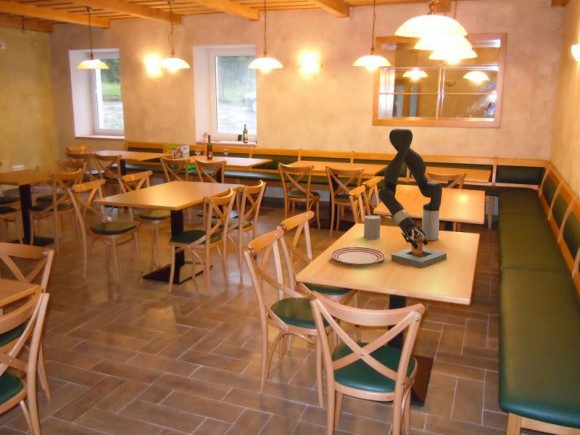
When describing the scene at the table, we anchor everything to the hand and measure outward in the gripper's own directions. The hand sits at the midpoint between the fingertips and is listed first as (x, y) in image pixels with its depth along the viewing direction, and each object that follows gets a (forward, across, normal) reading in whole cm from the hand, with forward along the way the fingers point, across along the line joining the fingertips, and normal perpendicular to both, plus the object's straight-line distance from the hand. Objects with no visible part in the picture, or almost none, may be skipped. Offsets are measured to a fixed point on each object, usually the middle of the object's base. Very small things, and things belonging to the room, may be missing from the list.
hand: (421, 246), depth 263 cm
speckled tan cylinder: (-27, +17, +37) cm, 49 cm away
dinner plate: (-10, -23, +21) cm, 33 cm away
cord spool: (+3, 0, +7) cm, 8 cm away
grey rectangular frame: (+4, 0, +6) cm, 7 cm away
